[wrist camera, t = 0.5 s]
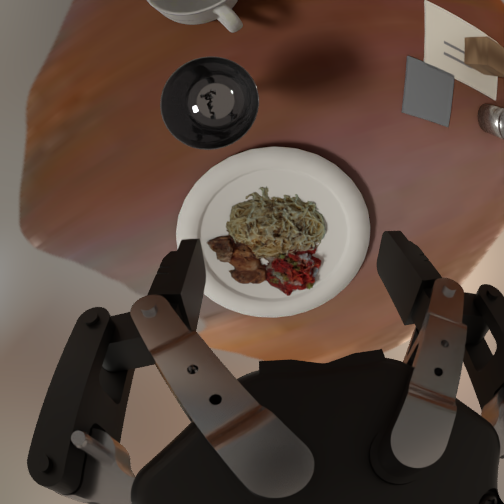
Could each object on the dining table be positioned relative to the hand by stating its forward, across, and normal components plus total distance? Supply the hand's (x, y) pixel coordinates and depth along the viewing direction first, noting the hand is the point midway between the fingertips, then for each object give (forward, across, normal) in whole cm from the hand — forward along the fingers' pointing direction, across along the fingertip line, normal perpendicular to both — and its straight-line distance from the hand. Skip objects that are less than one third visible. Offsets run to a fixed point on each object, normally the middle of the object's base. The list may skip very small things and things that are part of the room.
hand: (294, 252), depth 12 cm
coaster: (+28, -24, -8) cm, 38 cm away
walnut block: (+28, -35, -17) cm, 47 cm away
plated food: (+28, -1, +16) cm, 32 cm away
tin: (+28, -38, -7) cm, 48 cm away
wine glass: (+28, +5, -6) cm, 29 cm away
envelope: (+28, -33, -18) cm, 46 cm away
